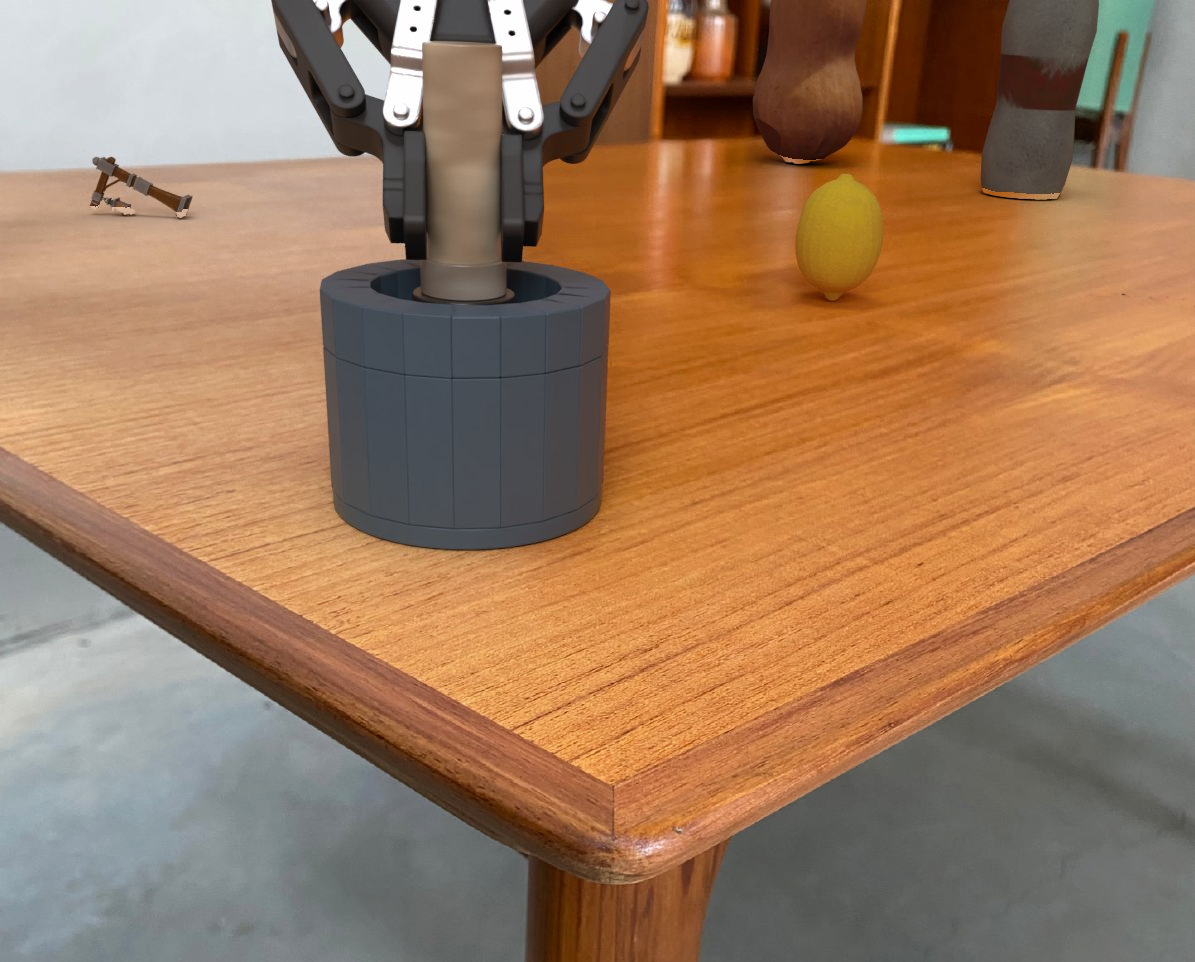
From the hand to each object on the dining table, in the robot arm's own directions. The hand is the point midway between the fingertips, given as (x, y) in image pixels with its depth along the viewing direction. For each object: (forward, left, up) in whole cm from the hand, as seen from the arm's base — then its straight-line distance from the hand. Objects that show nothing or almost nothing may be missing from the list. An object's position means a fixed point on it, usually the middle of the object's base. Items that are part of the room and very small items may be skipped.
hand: (465, 245), depth 41 cm
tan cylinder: (-1, +2, -6) cm, 6 cm away
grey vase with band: (+35, +106, -10) cm, 112 cm away
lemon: (+14, +43, -10) cm, 46 cm away
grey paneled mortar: (0, +2, -10) cm, 10 cm away
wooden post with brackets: (-42, +58, -10) cm, 73 cm away
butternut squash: (+11, +127, -10) cm, 128 cm away
